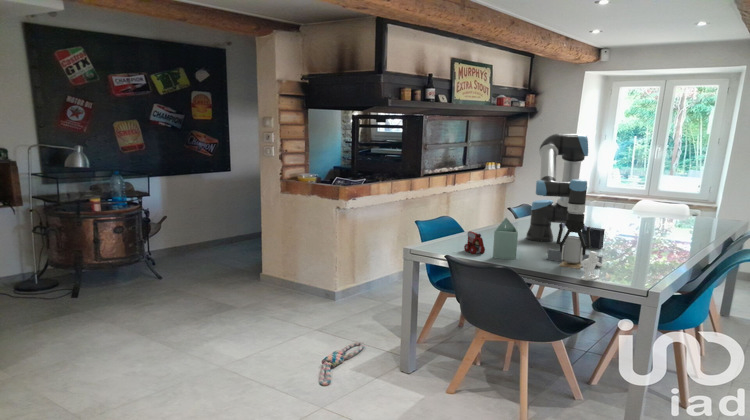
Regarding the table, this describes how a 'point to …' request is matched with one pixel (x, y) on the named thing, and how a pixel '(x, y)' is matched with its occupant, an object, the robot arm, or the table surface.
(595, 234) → the box
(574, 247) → the can
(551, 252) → the wall
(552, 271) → the table surface
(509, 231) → the planter
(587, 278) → the figurine
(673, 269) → the table surface
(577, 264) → the coaster
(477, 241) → the toy fire truck
